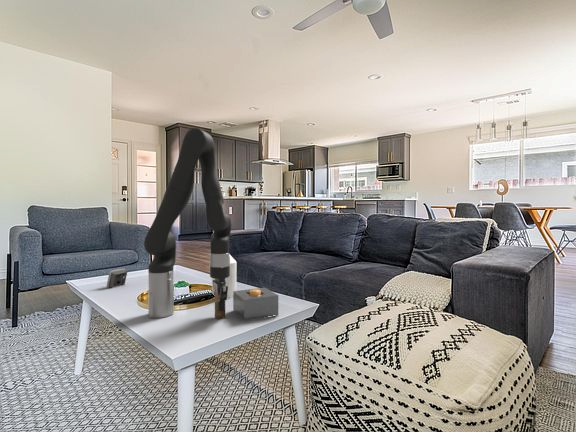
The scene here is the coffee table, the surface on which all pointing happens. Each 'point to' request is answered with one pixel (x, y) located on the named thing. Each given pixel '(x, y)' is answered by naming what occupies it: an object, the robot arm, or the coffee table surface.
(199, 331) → the coffee table surface
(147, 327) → the coffee table surface
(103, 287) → the coffee table surface
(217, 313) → the brown wooden block
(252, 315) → the box
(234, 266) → the bottle
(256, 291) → the button
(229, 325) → the coffee table surface
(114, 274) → the electrical switch
